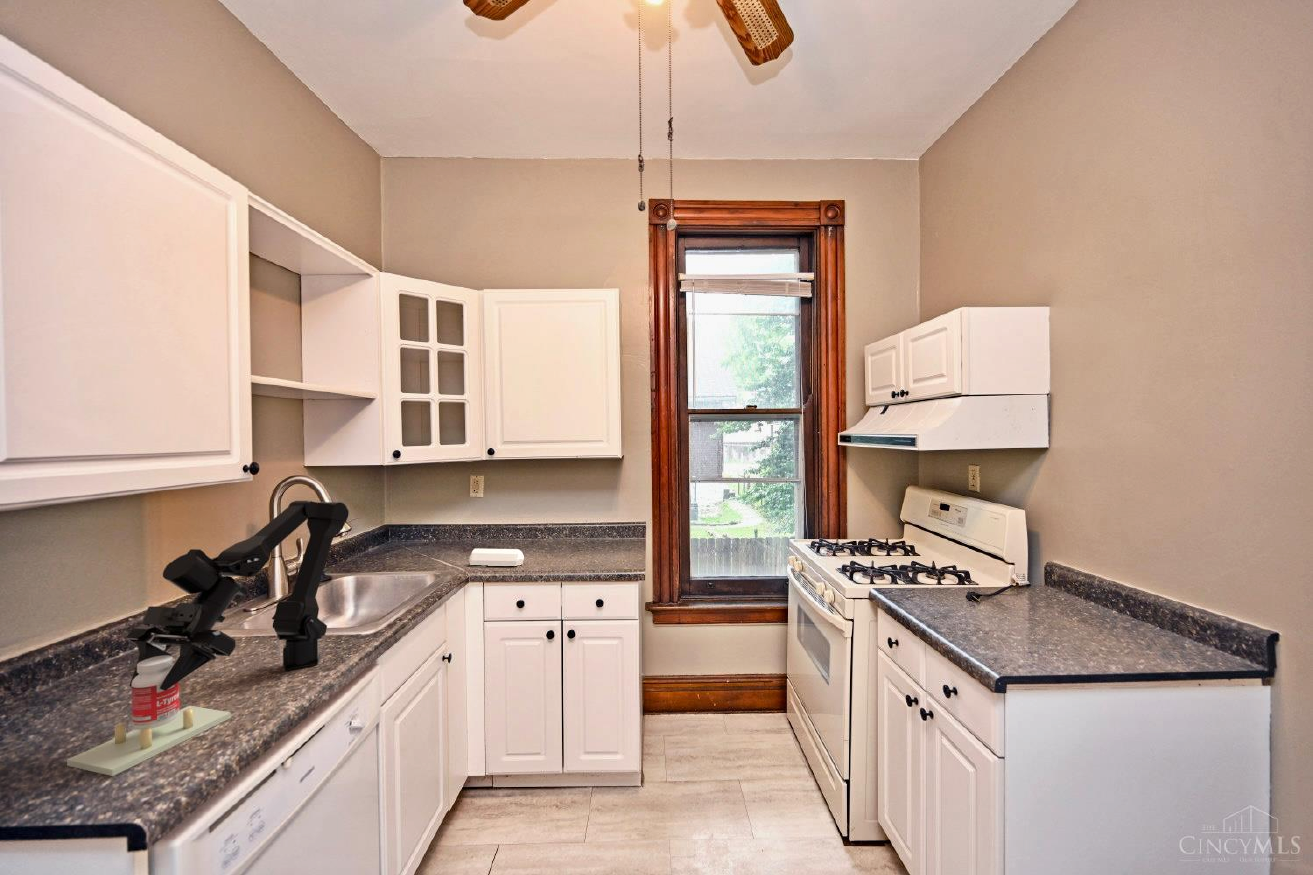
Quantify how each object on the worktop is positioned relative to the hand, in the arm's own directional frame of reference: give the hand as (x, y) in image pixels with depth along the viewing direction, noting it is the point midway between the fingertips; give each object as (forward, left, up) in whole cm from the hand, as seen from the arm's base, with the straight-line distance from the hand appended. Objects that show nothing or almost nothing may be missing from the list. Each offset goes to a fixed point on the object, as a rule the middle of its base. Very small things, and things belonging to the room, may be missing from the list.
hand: (147, 688), depth 93 cm
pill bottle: (-1, -1, -7) cm, 7 cm away
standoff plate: (-1, -1, -10) cm, 10 cm away
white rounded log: (-83, -100, -10) cm, 131 cm away
